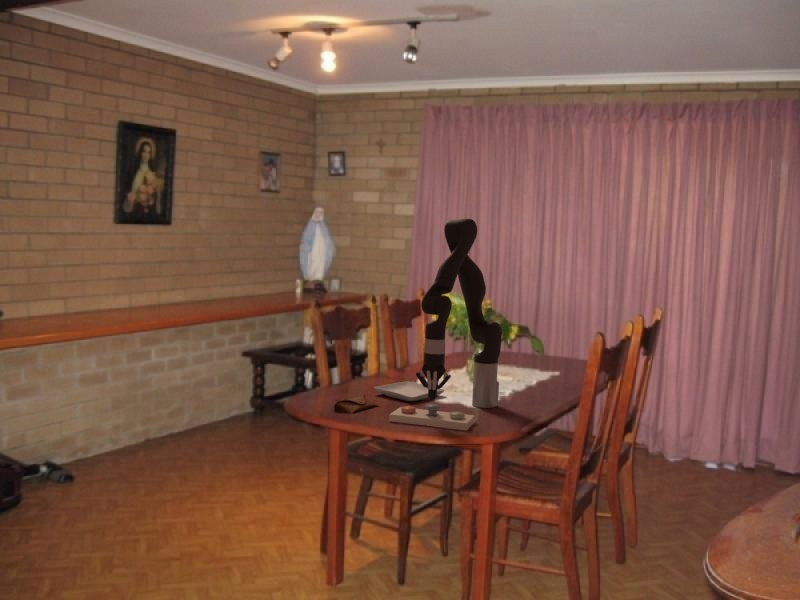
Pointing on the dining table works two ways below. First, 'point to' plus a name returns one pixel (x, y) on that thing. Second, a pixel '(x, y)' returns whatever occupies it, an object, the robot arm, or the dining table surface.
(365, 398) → the sunglasses case
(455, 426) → the button panel
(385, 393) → the salad plate
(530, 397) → the dining table surface
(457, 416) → the sage button
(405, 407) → the terracotta button
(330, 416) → the dining table surface
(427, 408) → the slate button
